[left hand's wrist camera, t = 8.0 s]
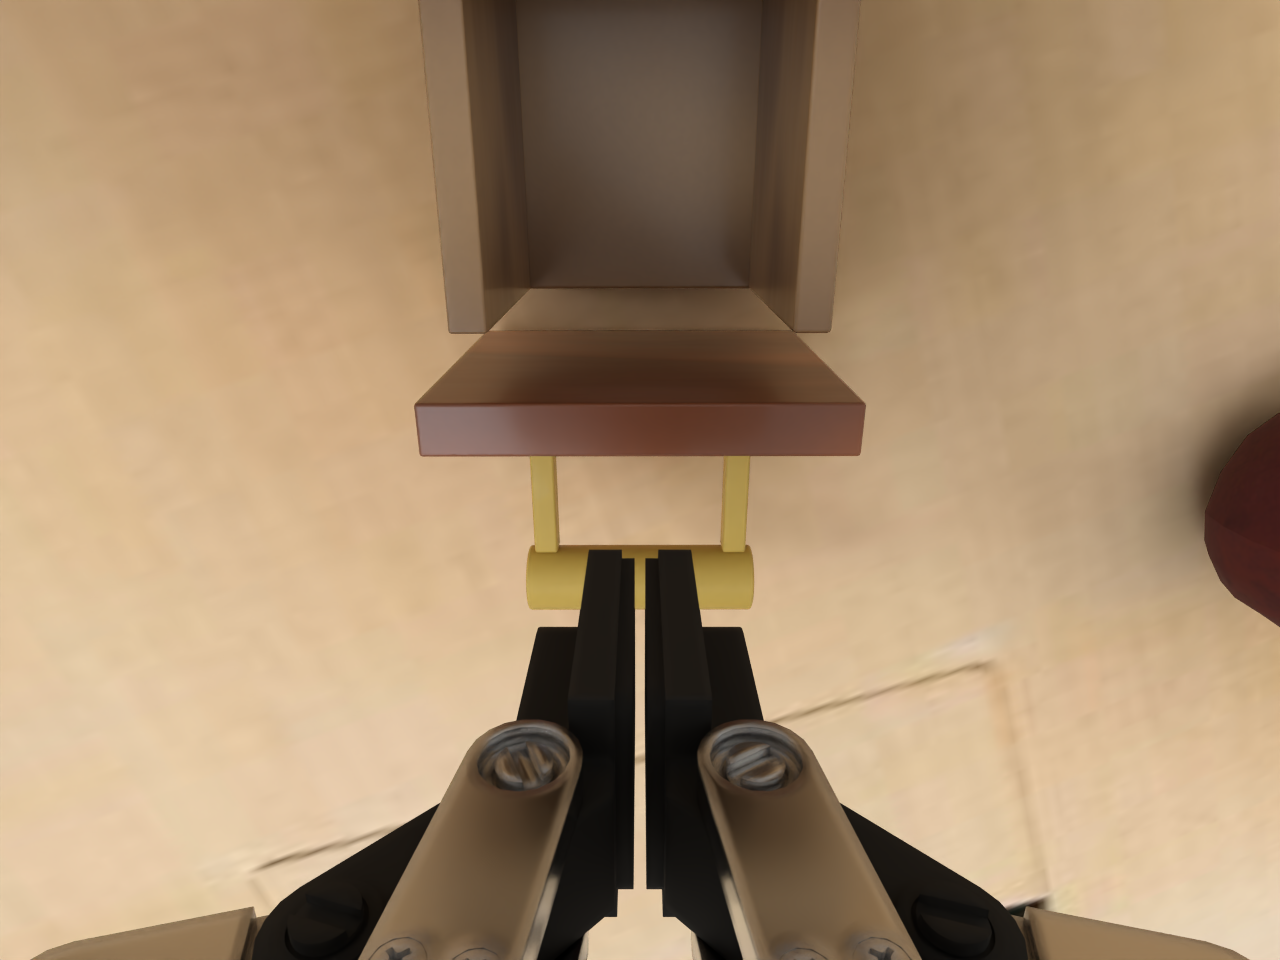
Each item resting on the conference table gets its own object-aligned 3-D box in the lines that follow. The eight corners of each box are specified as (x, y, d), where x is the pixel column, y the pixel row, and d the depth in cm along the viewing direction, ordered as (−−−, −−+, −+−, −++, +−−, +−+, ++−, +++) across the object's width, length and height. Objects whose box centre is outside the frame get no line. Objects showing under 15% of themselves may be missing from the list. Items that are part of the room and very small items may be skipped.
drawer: (779, 519, 26) (838, 663, 18) (500, 520, 26) (442, 663, 18) (843, -379, 18) (1000, -804, 10) (433, -379, 18) (276, -804, 10)
